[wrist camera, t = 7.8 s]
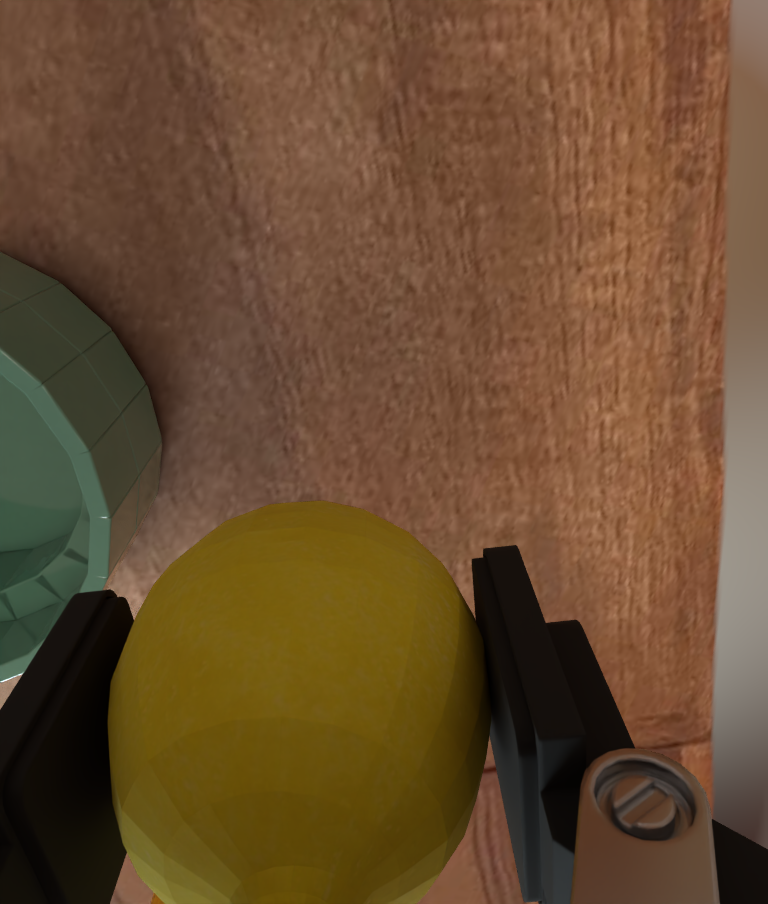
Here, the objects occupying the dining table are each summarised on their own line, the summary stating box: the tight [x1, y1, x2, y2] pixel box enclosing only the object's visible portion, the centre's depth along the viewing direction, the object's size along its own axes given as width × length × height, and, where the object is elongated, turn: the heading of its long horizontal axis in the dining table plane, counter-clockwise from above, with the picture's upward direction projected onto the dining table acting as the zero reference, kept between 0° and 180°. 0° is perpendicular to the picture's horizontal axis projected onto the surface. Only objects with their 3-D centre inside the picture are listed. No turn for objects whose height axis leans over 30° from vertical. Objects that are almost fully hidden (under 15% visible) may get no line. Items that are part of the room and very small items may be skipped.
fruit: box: [108, 501, 492, 904], centre depth 11 cm, size 6×6×8 cm
